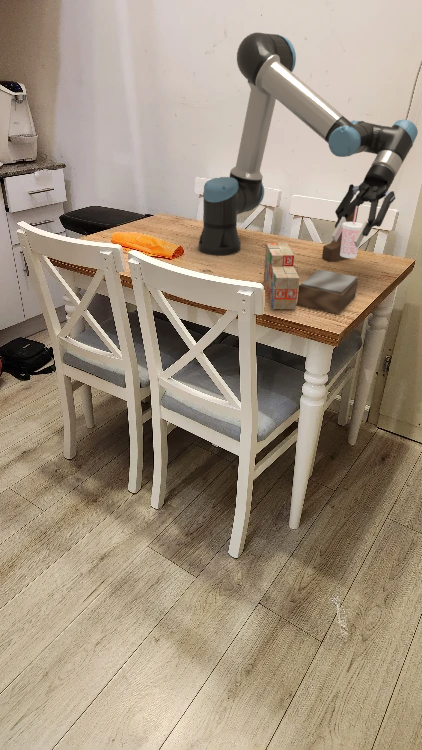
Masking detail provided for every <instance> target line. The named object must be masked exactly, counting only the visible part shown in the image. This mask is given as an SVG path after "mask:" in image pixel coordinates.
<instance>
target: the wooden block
mask: <svg viewBox="0 0 422 750" xmlns="http://www.w3.org/2000/svg"><path fill="white" fill-rule="evenodd" d="M351 202H352V201H351ZM351 202H350V203H351ZM358 211H359V207H358V208H357V213H356V219H355V222H357V219H358V214H359V212H358ZM354 215H355V211H354V212H353V213H352V214H351V215H350V216H349V217H348V218H347V219H346V222H353V220H354ZM338 219H339V218H337V220H338ZM342 232H343V231H342ZM342 232H341V234H340V236H339V238H338V240H337V242H335V241H334V240H333V239H332V240H331V242H329V243H328V244H325V245H323V249H322V254H321V258H322V259H323V260H324V261H327V262H328V263H329V262H330V263H332V262H336V261H343V260H348V259H349V260H350V258H344V257H341V256H340V250H341V241H342Z"/></svg>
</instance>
